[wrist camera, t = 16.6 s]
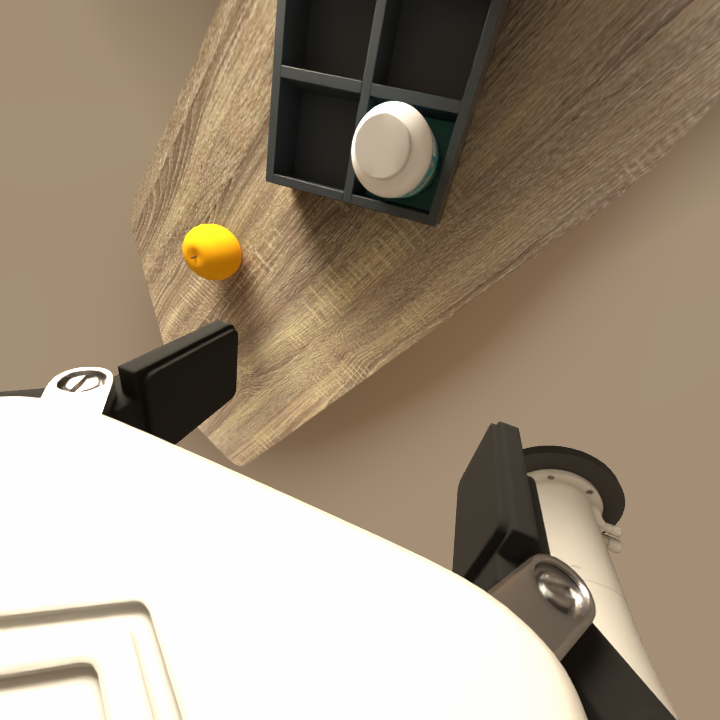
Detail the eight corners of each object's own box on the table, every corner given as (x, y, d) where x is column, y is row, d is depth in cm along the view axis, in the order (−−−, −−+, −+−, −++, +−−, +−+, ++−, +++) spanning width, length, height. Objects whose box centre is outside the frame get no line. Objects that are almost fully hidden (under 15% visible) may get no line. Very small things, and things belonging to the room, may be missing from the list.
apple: (258, 263, 51) (227, 272, 45) (224, 282, 55) (191, 294, 48) (231, 212, 49) (194, 214, 43) (197, 236, 53) (159, 241, 46)
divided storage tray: (513, -12, 31) (520, -55, 26) (439, 223, 41) (434, 226, 36) (311, -40, 34) (282, -82, 29) (289, 183, 45) (265, 181, 40)
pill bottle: (390, 208, 41) (356, 212, 30) (369, 144, 39) (323, 121, 27) (450, 181, 38) (438, 173, 26) (430, 110, 36) (408, 67, 24)
